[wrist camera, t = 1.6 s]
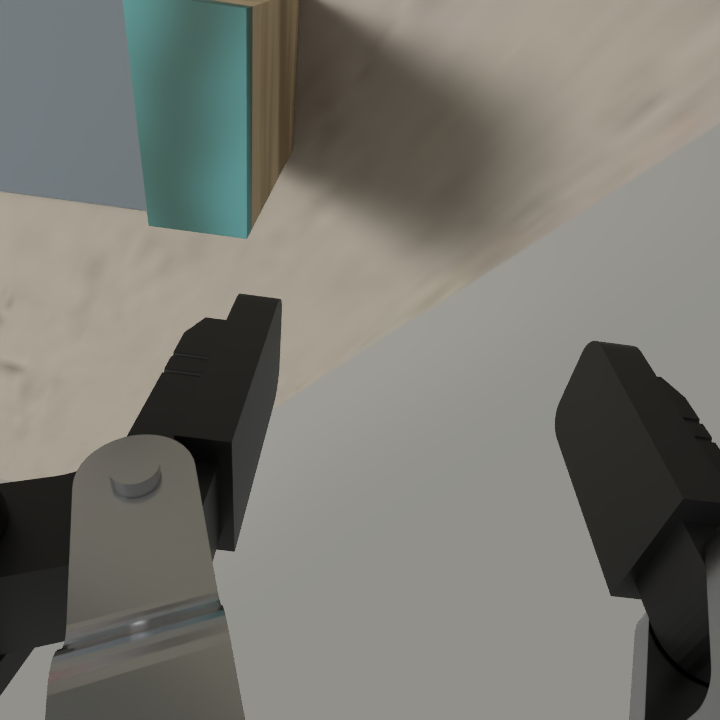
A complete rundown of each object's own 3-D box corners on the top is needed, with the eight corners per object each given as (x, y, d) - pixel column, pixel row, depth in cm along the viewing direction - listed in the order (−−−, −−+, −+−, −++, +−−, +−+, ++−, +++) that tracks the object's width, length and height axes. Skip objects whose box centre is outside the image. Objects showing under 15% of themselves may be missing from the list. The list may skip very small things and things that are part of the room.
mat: (197, -159, 25) (194, -161, 24) (213, 217, 35) (211, 219, 35) (-117, -209, 24) (-124, -211, 24) (-5, 187, 35) (-9, 189, 35)
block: (300, -11, 28) (246, 8, 17) (292, 149, 33) (247, 238, 22) (222, -23, 28) (121, -11, 17) (226, 139, 33) (148, 225, 22)
